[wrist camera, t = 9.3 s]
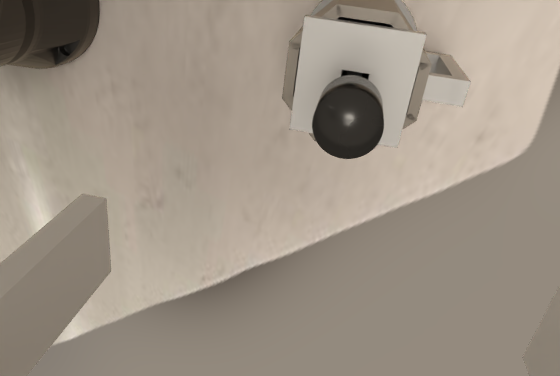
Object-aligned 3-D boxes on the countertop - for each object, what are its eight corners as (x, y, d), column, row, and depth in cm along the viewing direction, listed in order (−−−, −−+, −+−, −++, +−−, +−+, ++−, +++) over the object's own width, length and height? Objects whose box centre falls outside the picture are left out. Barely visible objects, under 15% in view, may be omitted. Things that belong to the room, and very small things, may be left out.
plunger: (311, 88, 46) (273, 173, 28) (323, 6, 42) (289, 46, 25) (388, 100, 45) (399, 197, 28) (408, 18, 42) (434, 69, 24)
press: (296, 90, 52) (267, 144, 37) (311, -24, 46) (284, -12, 32) (427, 112, 50) (450, 177, 36) (460, -3, 45) (500, 19, 31)
